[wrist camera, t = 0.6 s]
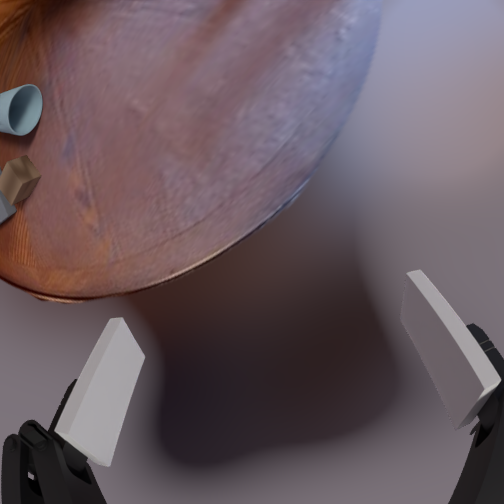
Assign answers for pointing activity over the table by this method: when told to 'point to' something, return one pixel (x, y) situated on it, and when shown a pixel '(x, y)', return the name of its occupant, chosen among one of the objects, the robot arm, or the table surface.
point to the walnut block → (18, 179)
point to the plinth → (5, 207)
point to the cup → (20, 109)
